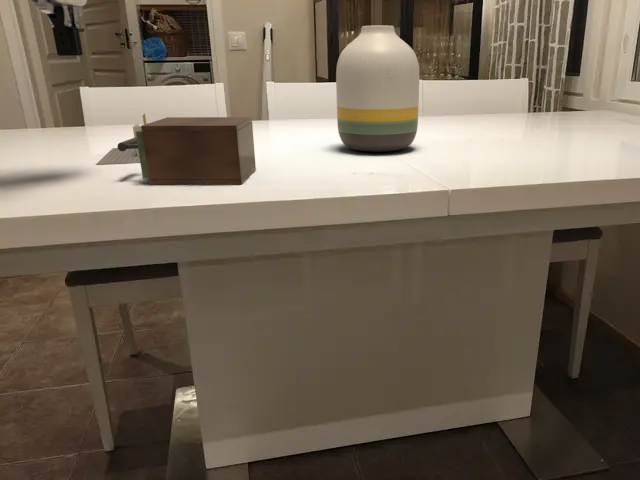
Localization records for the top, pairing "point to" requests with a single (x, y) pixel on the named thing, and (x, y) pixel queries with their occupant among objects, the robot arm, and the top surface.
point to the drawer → (138, 144)
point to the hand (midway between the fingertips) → (70, 55)
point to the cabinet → (199, 150)
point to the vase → (377, 91)
